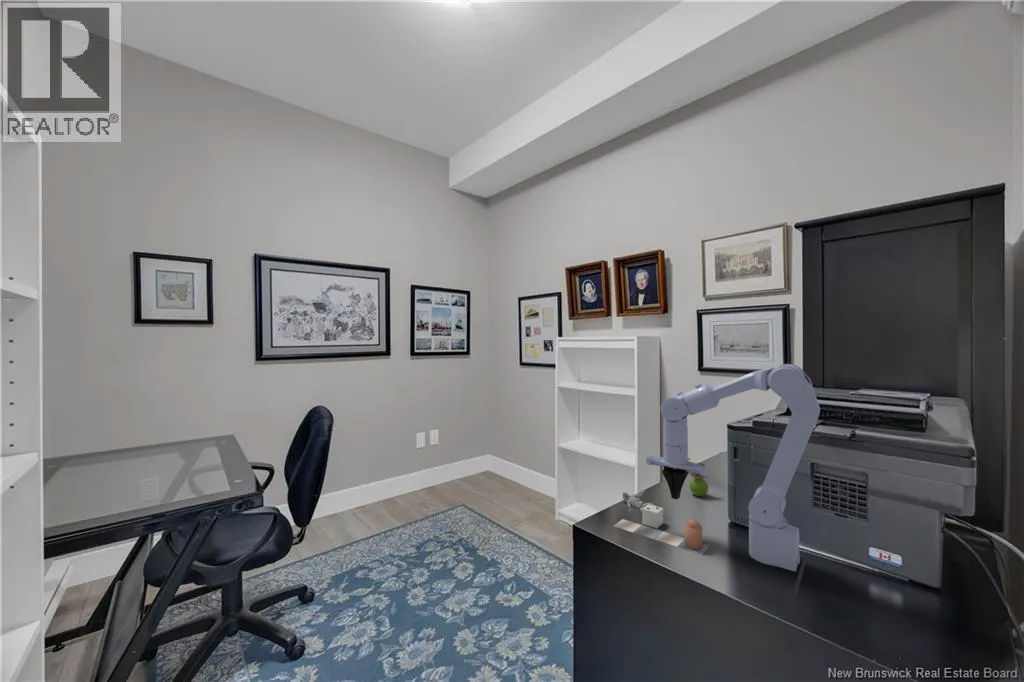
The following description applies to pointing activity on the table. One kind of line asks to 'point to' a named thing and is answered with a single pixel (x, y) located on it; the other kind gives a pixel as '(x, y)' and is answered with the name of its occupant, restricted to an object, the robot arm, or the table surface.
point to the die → (652, 516)
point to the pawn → (693, 535)
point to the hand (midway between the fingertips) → (675, 497)
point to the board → (657, 535)
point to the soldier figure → (635, 500)
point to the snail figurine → (698, 483)
